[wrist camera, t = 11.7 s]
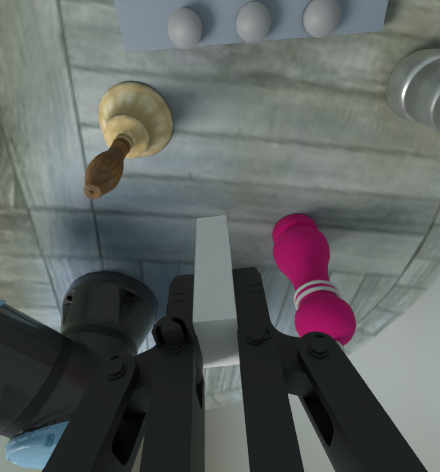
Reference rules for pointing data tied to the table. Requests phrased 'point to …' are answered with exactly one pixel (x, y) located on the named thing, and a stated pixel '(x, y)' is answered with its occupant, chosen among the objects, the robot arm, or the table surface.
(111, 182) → the hand bell
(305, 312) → the pepper mill
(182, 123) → the table surface
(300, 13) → the console board
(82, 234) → the table surface
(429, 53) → the plastic bottle
